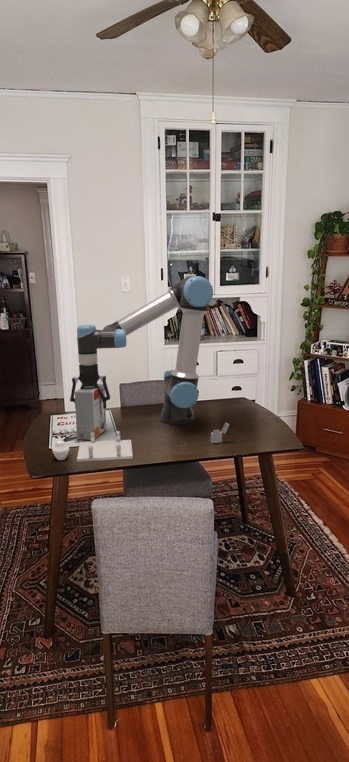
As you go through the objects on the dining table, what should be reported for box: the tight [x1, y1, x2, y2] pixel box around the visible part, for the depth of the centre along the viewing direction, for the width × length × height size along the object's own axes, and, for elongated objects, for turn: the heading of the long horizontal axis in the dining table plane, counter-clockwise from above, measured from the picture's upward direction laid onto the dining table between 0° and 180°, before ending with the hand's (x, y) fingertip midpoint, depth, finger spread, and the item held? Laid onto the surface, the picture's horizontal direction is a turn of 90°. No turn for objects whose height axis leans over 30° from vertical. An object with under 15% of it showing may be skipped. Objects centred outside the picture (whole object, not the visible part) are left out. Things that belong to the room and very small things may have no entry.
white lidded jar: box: [52, 440, 70, 461], centre depth 179 cm, size 6×6×7 cm
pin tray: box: [76, 430, 134, 463], centre depth 185 cm, size 20×18×5 cm
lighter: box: [210, 422, 230, 444], centre depth 193 cm, size 7×2×8 cm, turn 103°
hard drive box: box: [74, 383, 107, 441], centre depth 202 cm, size 16×8×20 cm, turn 169°
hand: (91, 416), depth 203 cm, fingers closed on hard drive box, 9 cm apart
